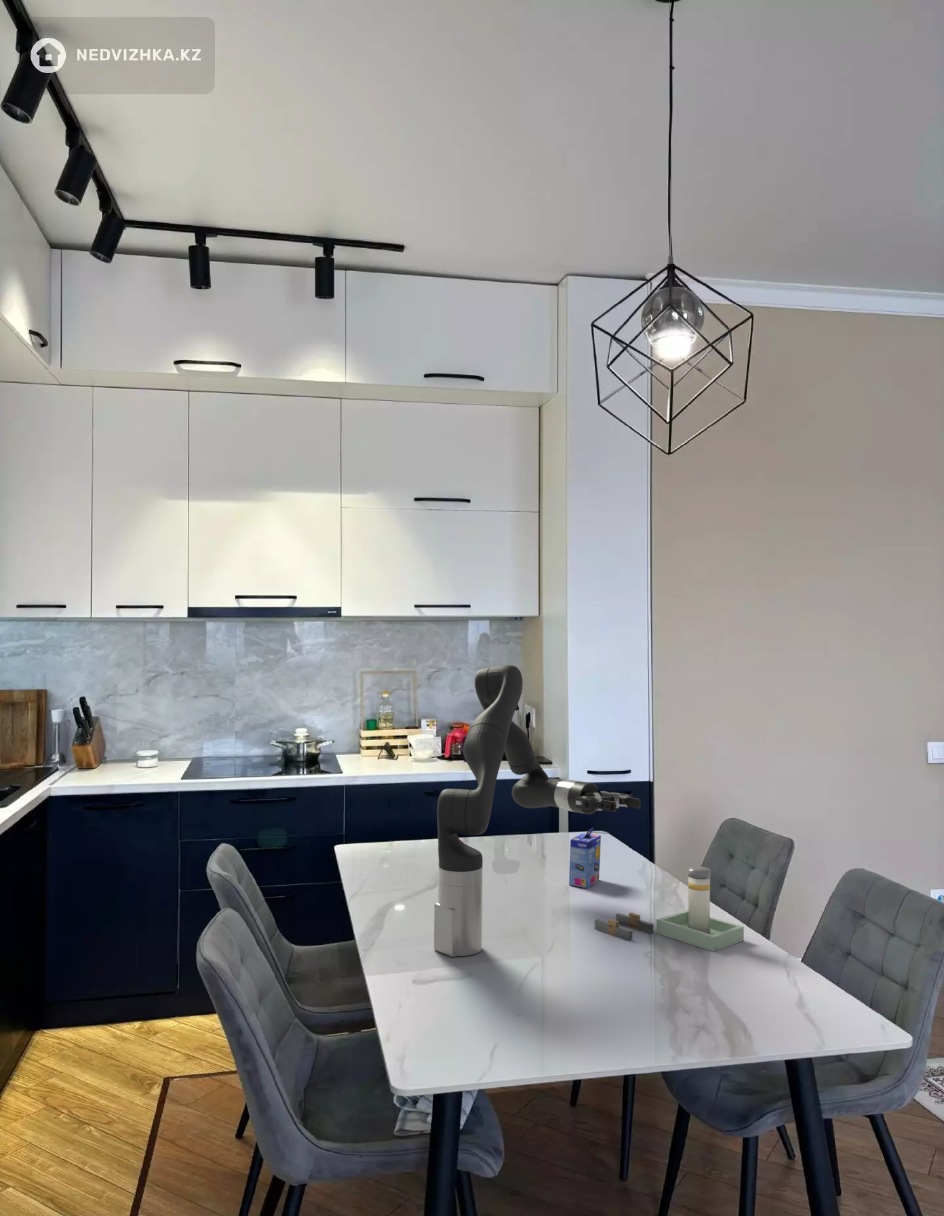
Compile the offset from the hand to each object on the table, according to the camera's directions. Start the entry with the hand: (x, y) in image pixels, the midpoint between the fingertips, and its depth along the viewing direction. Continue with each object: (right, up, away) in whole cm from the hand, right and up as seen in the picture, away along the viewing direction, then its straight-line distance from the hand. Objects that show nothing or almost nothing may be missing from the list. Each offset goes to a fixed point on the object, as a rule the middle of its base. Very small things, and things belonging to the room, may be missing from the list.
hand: (627, 805), depth 212 cm
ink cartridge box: (-6, -27, +30) cm, 41 cm away
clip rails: (-2, -26, -8) cm, 28 cm away
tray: (+14, -26, -12) cm, 32 cm away
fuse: (+14, -25, -12) cm, 31 cm away
